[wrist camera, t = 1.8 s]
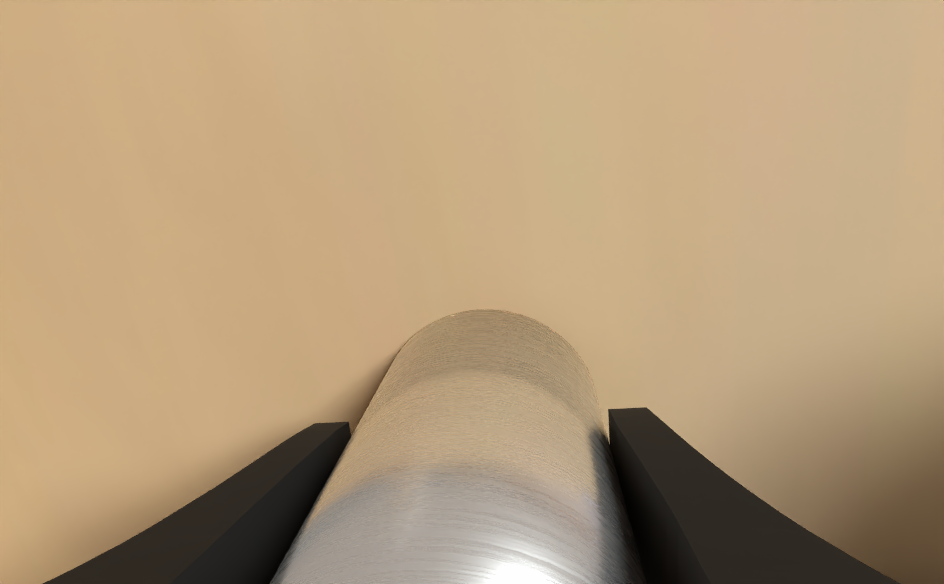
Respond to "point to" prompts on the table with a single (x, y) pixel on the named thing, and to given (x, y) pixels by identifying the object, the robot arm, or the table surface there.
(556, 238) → the table surface
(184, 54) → the table surface
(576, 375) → the spout can
